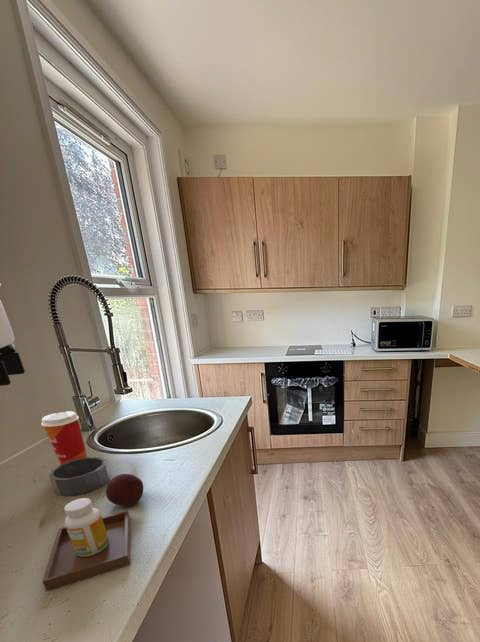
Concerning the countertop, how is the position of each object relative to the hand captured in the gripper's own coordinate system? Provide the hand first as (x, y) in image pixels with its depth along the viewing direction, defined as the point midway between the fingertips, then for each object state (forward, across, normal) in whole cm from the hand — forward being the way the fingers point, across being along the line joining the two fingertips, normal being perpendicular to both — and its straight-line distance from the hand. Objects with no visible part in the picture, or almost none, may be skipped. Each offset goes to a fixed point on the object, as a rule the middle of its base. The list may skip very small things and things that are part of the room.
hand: (7, 379), depth 64 cm
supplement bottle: (+30, +16, +8) cm, 35 cm away
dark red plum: (+31, +1, +13) cm, 33 cm away
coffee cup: (+31, -26, 0) cm, 40 cm away
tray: (+30, +16, +8) cm, 35 cm away
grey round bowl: (+30, -14, +3) cm, 34 cm away
